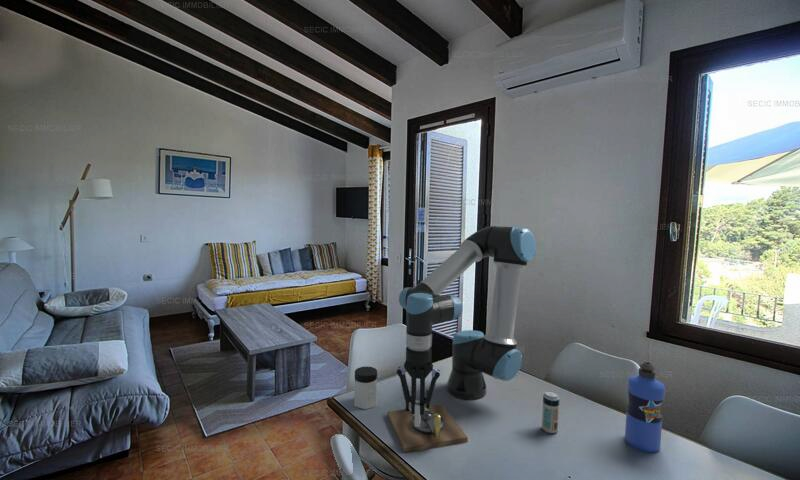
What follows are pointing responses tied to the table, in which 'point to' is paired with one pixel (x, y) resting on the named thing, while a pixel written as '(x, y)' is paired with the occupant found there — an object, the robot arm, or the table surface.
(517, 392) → the table surface
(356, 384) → the jar
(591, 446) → the table surface
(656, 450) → the water bottle
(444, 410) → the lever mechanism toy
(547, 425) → the supplement bottle
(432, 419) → the grey metal domed piece
